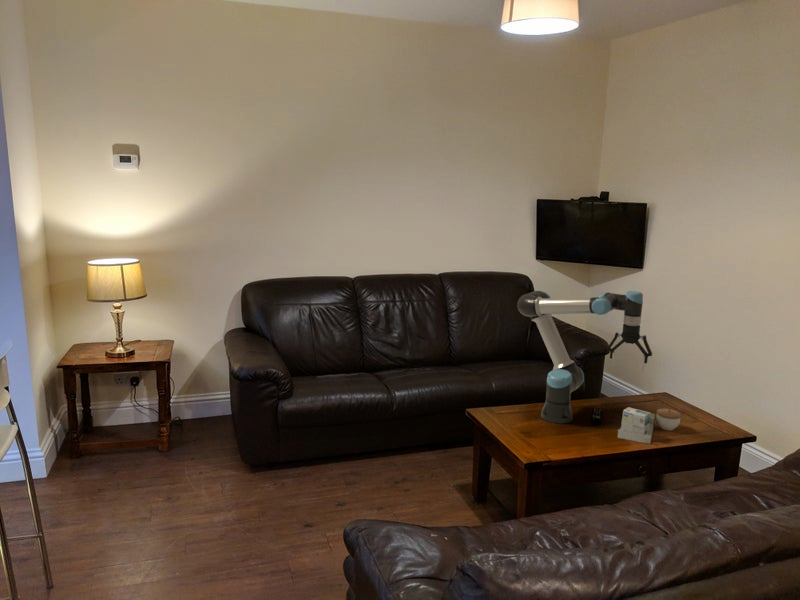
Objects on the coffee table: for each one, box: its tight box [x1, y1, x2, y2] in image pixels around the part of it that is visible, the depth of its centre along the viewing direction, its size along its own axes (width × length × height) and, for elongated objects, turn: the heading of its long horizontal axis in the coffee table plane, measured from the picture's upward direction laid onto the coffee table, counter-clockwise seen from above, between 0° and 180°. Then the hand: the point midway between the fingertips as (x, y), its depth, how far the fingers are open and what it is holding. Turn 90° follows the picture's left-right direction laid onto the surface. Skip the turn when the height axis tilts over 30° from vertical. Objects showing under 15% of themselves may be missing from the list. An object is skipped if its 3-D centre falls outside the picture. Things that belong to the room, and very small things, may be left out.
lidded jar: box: [656, 408, 682, 431], centre depth 287 cm, size 11×11×9 cm
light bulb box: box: [621, 406, 652, 435], centre depth 279 cm, size 11×7×11 cm, turn 48°
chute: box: [617, 421, 654, 445], centre depth 279 cm, size 14×15×4 cm
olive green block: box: [621, 408, 656, 428], centre depth 289 cm, size 14×7×6 cm, turn 64°
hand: (627, 367), depth 287 cm, fingers open, 13 cm apart
